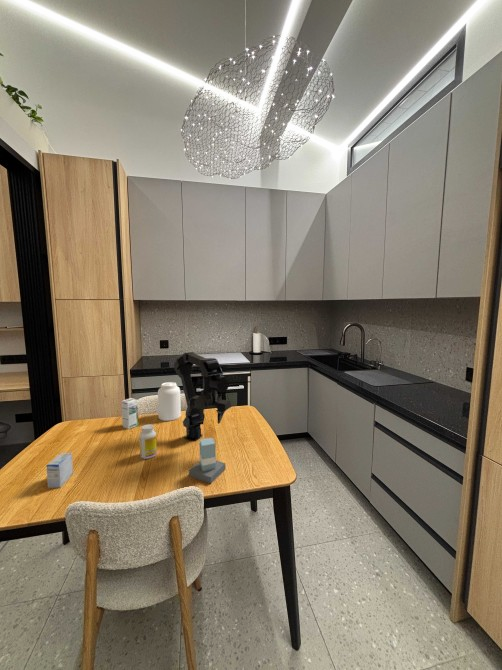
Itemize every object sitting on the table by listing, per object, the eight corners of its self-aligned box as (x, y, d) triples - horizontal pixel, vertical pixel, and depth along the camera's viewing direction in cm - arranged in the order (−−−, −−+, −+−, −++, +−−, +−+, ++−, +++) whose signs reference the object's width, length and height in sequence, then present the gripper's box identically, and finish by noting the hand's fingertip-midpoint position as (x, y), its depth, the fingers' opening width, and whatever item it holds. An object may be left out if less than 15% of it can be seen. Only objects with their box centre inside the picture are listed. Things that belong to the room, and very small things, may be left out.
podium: (188, 476, 103) (188, 469, 102) (204, 462, 112) (204, 457, 111) (211, 483, 98) (211, 477, 98) (225, 469, 107) (225, 463, 107)
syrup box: (128, 429, 142) (127, 402, 140) (122, 426, 145) (121, 400, 143) (138, 425, 147) (137, 399, 145) (131, 423, 150) (130, 397, 148)
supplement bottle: (159, 452, 119) (159, 424, 118) (149, 460, 113) (148, 430, 112) (147, 450, 121) (146, 422, 120) (136, 457, 115) (135, 428, 114)
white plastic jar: (154, 420, 153) (153, 385, 151) (164, 412, 166) (164, 380, 164) (175, 422, 151) (174, 387, 149) (184, 413, 164) (183, 381, 162)
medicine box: (61, 474, 103) (59, 452, 102) (73, 474, 103) (72, 452, 103) (47, 488, 95) (45, 464, 94) (60, 487, 96) (59, 464, 95)
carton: (199, 464, 106) (199, 439, 105) (212, 461, 108) (212, 437, 107) (202, 471, 101) (202, 445, 100) (215, 468, 103) (215, 443, 102)
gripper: (180, 389, 116) (181, 424, 118) (217, 395, 108) (218, 433, 110) (196, 382, 126) (197, 415, 128) (231, 388, 118) (231, 422, 120)
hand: (210, 421), depth 121 cm, fingers open, 9 cm apart
